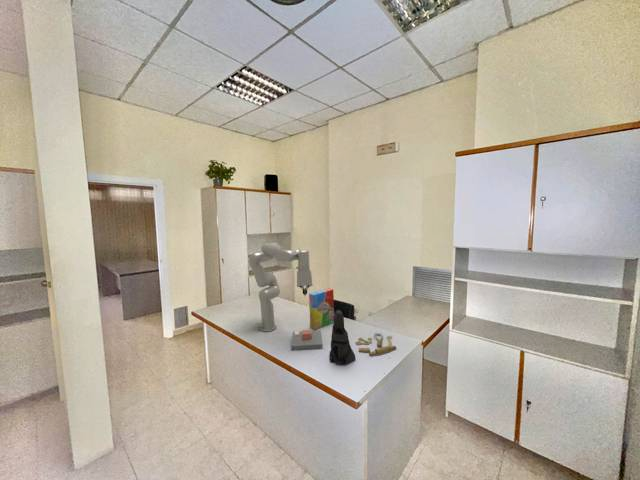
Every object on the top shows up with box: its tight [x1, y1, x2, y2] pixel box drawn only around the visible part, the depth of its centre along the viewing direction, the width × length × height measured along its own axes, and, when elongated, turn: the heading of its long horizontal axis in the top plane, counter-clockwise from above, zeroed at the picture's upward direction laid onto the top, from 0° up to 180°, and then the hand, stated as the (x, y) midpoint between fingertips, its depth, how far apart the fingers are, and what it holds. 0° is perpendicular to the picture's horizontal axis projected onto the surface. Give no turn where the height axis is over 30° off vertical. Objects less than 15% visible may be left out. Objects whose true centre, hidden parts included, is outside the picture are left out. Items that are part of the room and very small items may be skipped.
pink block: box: [302, 329, 312, 340], centre depth 172 cm, size 6×6×7 cm
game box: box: [308, 287, 335, 331], centre depth 197 cm, size 21×6×27 cm, turn 129°
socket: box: [290, 329, 324, 351], centre depth 173 cm, size 20×20×4 cm
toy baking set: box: [354, 332, 397, 356], centre depth 167 cm, size 33×25×4 cm
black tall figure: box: [328, 309, 357, 366], centre depth 149 cm, size 14×14×30 cm
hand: (305, 294), depth 173 cm, fingers closed
